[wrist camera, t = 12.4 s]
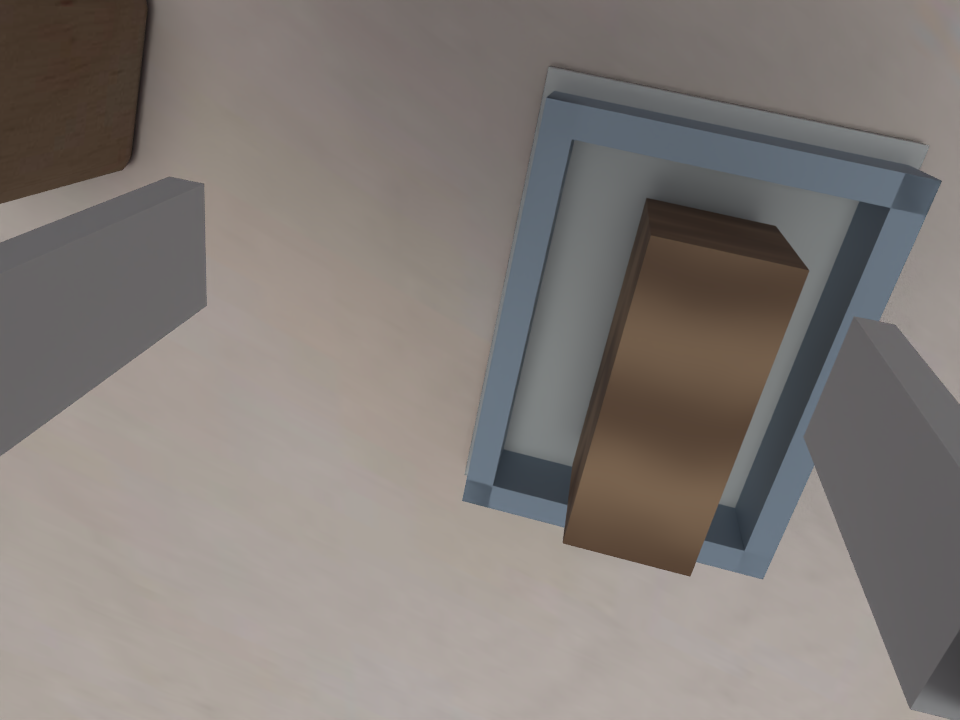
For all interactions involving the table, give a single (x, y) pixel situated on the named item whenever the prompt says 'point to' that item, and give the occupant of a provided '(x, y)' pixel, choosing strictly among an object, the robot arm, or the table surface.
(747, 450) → the peg frame
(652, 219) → the brown wooden bar
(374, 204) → the table surface
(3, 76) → the wooden block
